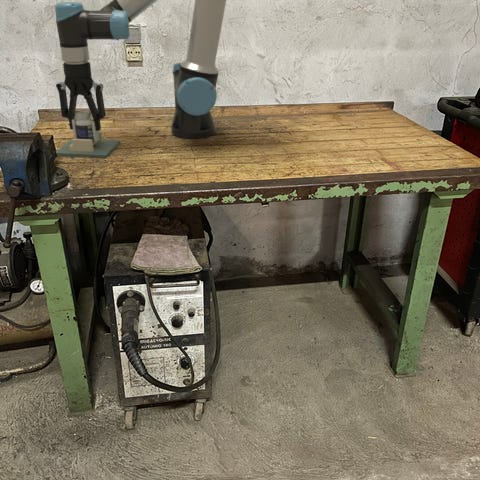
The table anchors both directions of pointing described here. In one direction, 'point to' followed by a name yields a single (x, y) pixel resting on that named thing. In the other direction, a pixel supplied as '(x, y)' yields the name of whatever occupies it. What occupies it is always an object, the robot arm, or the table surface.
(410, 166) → the table surface
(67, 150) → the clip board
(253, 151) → the table surface
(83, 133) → the pill bottle
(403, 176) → the table surface
